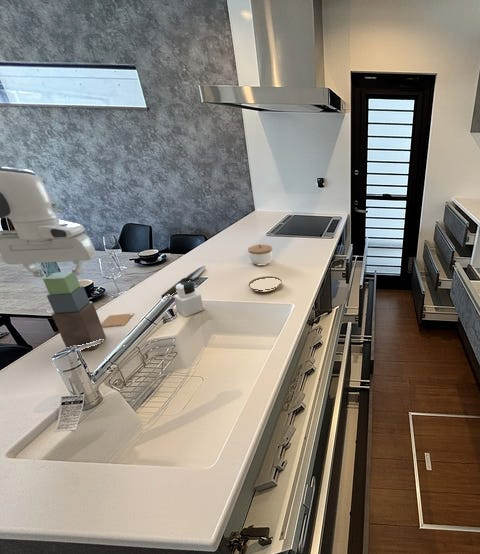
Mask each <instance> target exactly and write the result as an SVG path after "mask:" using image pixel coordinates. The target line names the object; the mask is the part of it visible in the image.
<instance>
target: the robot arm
mask: <svg viewBox="0 0 480 554" xmlns="http://www.w3.org/2000/svg"><path fill="white" fill-rule="evenodd" d="M52 202H53V201H52V199H51V196H50V193H49V192H48V189H47V188H46V186H45V183H44V182H43V180H42V178H41V177H40V175H38V173H36V172H34V171H33V170H31V169H28V168H23V167H15V166H0V219H4V218H7V219H9V220H10V223H11V224H12V226H13V228H14V229H12V230H10V229H9V230H0V256H1V257H0V258H1V259H2V262H5V264H7V265H22V266H23V268H25V269H26V270H28V271H29V272H30V273H32V276H33V277H34V278H42V277H44V276H45V273H44V270H43V269H39V268H38V267H37V266H36V265H35V264H42V263H44V264H45V263H61V262H64V263H65V262H72V263H73V265H75V267H74V268H73V269H71V272H73V274H74V275H76V276H81V275H82V274H83V273H84V271H83V269H82V268H83V265H84V261H91V260H92V259H93V258H95V256H96V255H97V251H96V249H95V246H94V244H93V242H92V240H91V238H90V236H88V235H87V234H86V233H84V232H85V227H84V225H82V224H81V223H76V222H70V221H66V220H62V219H59V216H58V214H57V213H56V212H55V211H54V209H53V203H52Z"/></svg>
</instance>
